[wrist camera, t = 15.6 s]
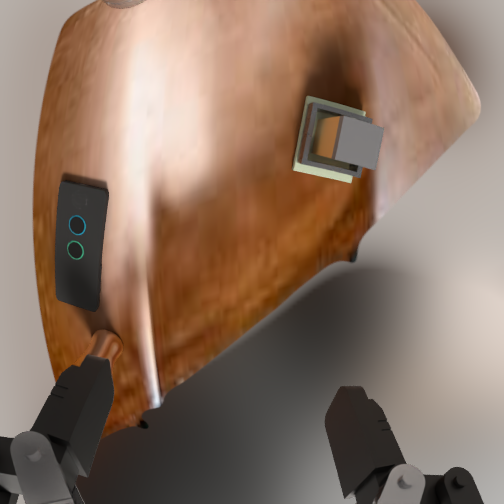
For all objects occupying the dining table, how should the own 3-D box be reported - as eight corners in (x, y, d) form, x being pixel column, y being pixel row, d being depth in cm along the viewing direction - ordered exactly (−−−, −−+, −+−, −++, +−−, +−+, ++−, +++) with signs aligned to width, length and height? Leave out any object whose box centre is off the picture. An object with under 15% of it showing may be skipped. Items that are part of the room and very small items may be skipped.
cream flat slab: (306, 96, 36) (308, 95, 35) (362, 112, 37) (365, 111, 35) (291, 169, 39) (293, 170, 38) (347, 181, 40) (350, 183, 39)
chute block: (317, 119, 36) (343, 115, 27) (350, 128, 36) (384, 128, 27) (311, 153, 37) (335, 159, 28) (343, 160, 38) (375, 170, 29)
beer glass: (124, 331, 47) (95, 394, 33) (127, 361, 50) (103, 424, 36) (88, 323, 47) (52, 381, 33) (92, 353, 49) (63, 411, 35)
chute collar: (307, 104, 35) (313, 101, 32) (363, 119, 36) (372, 118, 33) (296, 161, 38) (301, 164, 35) (351, 174, 39) (360, 177, 36)
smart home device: (107, 191, 38) (97, 313, 45) (112, 189, 39) (100, 308, 46) (58, 180, 36) (55, 299, 43) (64, 178, 38) (59, 294, 45)
